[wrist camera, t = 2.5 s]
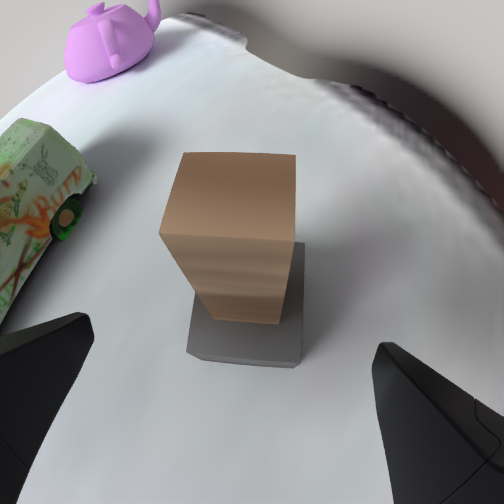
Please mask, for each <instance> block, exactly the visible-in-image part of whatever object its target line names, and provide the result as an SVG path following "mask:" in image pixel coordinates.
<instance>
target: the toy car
mask: <svg viewBox="0 0 504 504" xmlns="http://www.w3.org/2000/svg"><path fill="white" fill-rule="evenodd" d="M92 177H93V179H92ZM92 182H93V184H94V185H95V184H97V174H96V173H94V172H93V171H90V170H89V168H88V166H87V164H86V162H85V161H84V159H83V158H82V156H81V154H80V153H79V151H78V150H77V149H76V148H75V147H73V146H72V145H71V144H70V143H69V142H68V141H66V140H65V139H64V138H63V137H62V136H61V135H60V134H59V133H58V132H57V131H56V130H54V129H53V128H52V127H51V126H50V125H47V124H44V123H40V122H35V121H32V120H28V119H23V118H20V119H18V120H16V121H15V122H14V123H13V124H12V125H11V126H10V127H9V128H8V129H7V130H6V131H5V132H4V133H3V134H2V135H1V136H0V325H1V323H2V321H3V319H4V317H5V315H6V313H7V311H8V310H9V308H10V306H11V304H12V302H13V301H14V299H15V297H16V296H17V294H18V292H19V290H20V289H21V287H22V286H23V284H24V282H25V281H26V279H27V278H28V276H29V274H30V273H31V271H32V270H33V268H34V267H35V265H36V263H37V262H38V260H39V259H40V257H41V256H42V254H43V253H44V251H45V250H46V248H47V247H48V245H49V244H50V242H51V241H52V236H51V234H50V232H51V233H52V235H54V236H55V237H56V238H57V239H59V240H65V238H66V237H67V236H68V235H69V234H70V232H71V231H72V229H73V227H74V225H75V224H76V223H77V222H78V221H79V219H80V217H81V215H82V213H83V211H82V206H81V204H80V202H79V200H77V199H76V198H75V197H74V196H75V195H76V194H77V193H78V194H80V195H82V196H85V195H86V193H87V192H88V191H89V189H90V188H91V186H92Z"/></svg>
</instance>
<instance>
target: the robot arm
mask: <svg viewBox="0 0 504 504" xmlns="http://www.w3.org/2000/svg"><path fill="white" fill-rule="evenodd" d="M93 342H94V332H93V329H92V325H91V321H90V317H89V316H88V315H87V314H85V313H81V312H75V313H72V314H69V315H66V316H63V317H60V318H57V319H54V320H51V321H48V322H45V323H42V324H38V325H35V326H32V327H29V328H26V329H23V330H20V331H17V332H14V333H11V334H8V335H5V336H1V337H0V504H16V503H17V500H18V498H19V495H20V493H21V490H22V488H23V485H24V483H25V480H26V478H27V476H28V473H29V471H30V468H31V466H32V464H33V462H34V459H35V457H36V455H37V453H38V451H39V449H40V447H41V445H42V442H43V440H44V438H45V436H46V434H47V432H48V430H49V428H50V426H51V424H52V422H53V420H54V419H55V417H56V415H57V413H58V411H59V409H60V407H61V405H62V403H63V402H64V400H65V398H66V396H67V394H68V393H69V391H70V389H71V387H72V385H73V384H74V382H75V380H76V378H77V376H78V374H79V372H80V370H81V368H82V366H83V363H84V361H85V359H86V357H87V355H88V353H89V350H90V348H91V346H92V344H93ZM372 378H373V385H374V394H375V402H376V411H377V417H378V421H379V426H380V430H381V435H382V440H383V445H384V449H385V455H386V460H387V465H388V470H389V476H390V482H391V488H392V494H393V501H394V504H504V417H503V416H502V415H500V414H498V413H496V412H495V411H493V410H492V409H490V408H489V407H487V406H486V405H484V404H483V403H481V402H480V401H479V400H477V399H474V397H473V396H471V395H470V394H468V393H467V392H465V391H464V390H462V389H461V388H460V387H458V386H457V385H455V384H454V383H452V382H451V381H449V380H448V379H446V378H445V377H443V376H442V375H441V374H439V373H438V372H436V371H435V370H433V369H432V368H430V367H429V366H427V365H426V364H424V363H423V362H422V361H420V360H419V359H417V358H416V357H414V356H413V355H411V354H410V353H408V352H407V351H405V350H404V349H402V348H401V347H400V346H398V345H397V344H395V343H393V342H382V343H380V344H379V346H378V348H377V351H376V354H375V358H374V361H373V364H372Z"/></svg>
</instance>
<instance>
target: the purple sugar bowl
mask: <svg viewBox="0 0 504 504" xmlns="http://www.w3.org/2000/svg"><path fill="white" fill-rule="evenodd" d="M86 13H87V14H89V16H88V17H86V18H84V19H82V20H80V21H79V22H77V23H76V24H74V25H73V26H72V27H71V29H70V31H69V34H68V39H67V42H66V48H65V54H64V61H65V68H66V72H67V74H68V76H69V77H70V78H71V79H73V80H75V81H78V82H82V83H91V82H96V81H99V80H102V79H105V78H108V77H111V76H113V75H115V74H117V73H120V72H122V71H124V70H126V69H128V68H129V67H131V66H133V65H135V64H136V63H138V62H139V61H141V60H142V59H143V58H144V57H145V56H146V55H147V54H148V52H149V50H150V49H151V47H152V45H153V43H154V38H155V37H154V34H153V33H154V32H155V30H156V29H157V28H158V26H159V24H160V21H161V10H160V5H159V0H149V12H148V14H147V15H146V17H145V18H143V17H142V16H141V15H140V14H138V13H137V12H136V11H135V10H133V9H131V8H130V7H129V6H127V5H124V4H120V5H116V6H112V7H109V8H106V9H104V2H102V3H99V4H96V5H94V6H92V7H90V8H88V9H87V10H86Z"/></svg>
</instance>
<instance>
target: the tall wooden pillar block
mask: <svg viewBox="0 0 504 504" xmlns="http://www.w3.org/2000/svg"><path fill="white" fill-rule="evenodd" d="M295 193H296V155H287V154H269V153H240V152H189V153H183V156H182V159H181V162H180V165H179V168H178V171H177V174H176V177H175V180H174V183H173V186H172V189H171V193H170V196H169V199H168V202H167V206H166V209H165V212H164V216H163V219H162V223H161V226H160V230H159V235H160V237H161V238H162V240H163V241H164V243H165V245H166V246H167V248H168V250H169V251H170V253H171V254H172V256H173V258H174V259H175V261H176V262H177V264H178V266H179V267H180V269H181V270H182V272H183V273H184V275H185V277H186V278H187V280H188V281H189V283H190V284H191V286H192V287H193V289H194V290H195V298H194V304H193V310H192V316H191V323H190V329H189V336H188V343H187V350H186V352H187V353H189V354H191V355H193V356H195V357H197V358H199V359H201V360H206V361H213V362H222V363H231V364H241V365H251V366H264V367H279V368H294V367H295V366H297V365H298V364H299V363H300V360H301V343H302V322H303V297H304V252H305V243H298V242H295Z"/></svg>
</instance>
